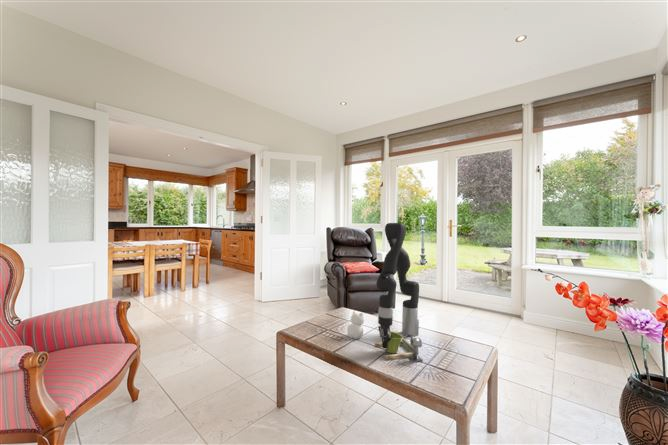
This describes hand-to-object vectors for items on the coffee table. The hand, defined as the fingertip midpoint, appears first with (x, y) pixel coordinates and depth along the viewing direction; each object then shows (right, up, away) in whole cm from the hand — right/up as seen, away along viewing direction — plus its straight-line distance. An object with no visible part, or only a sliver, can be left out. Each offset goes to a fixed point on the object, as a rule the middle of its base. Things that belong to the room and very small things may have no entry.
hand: (384, 347), depth 142 cm
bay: (+6, -3, +2) cm, 7 cm away
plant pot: (+4, -3, +1) cm, 5 cm away
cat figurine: (-14, -3, +19) cm, 24 cm away
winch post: (+13, -3, -7) cm, 15 cm away
